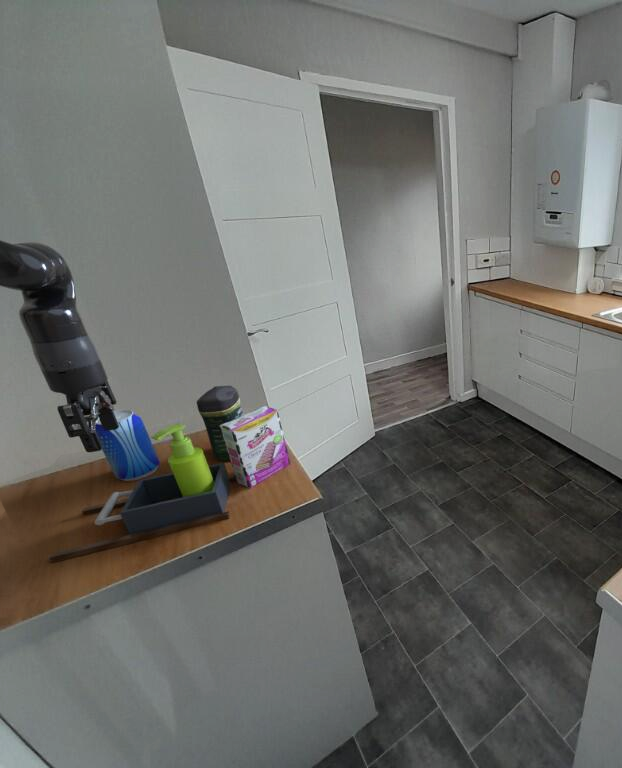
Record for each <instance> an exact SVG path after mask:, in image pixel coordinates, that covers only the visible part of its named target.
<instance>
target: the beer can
mask: <svg viewBox="0 0 622 768" xmlns="http://www.w3.org/2000/svg"><path fill="white" fill-rule="evenodd" d="M113 412H114V414H115V417H116V419H117V422H118V424H119V427H118V429H116V430H109V431H105V430H104V429H103V427H102V424H101V422H100V420H99V417H98V420H97V421H95V429H96V432H97V434H98V436H99V439H100V441H101V443H102V445H103V448H102V449H101V451H102V452H103V454H104V456H105V458H106V460H107V462H108V465H109V466H110V468H111V470H112V472H113V474H114V476H115V478H116V479H118V480H121V481H123V482H134V481H139V480H140V479H146V478H148V477H150V476H151V475H153V474H154V473H155V472H156V471H158V468H159V467H160V464H161V460H160V458H159V456H158V453H157V452H156V449H155V447H154V444H153V442H152V440H151V437H150V435H149V433H148V431H147V428H146V426H145V423H144V421H143V419H142V418H141V417H140V416H138V415H137V414H135V413H134V412H133V411H132V410H130V409H120V410H114V411H113Z"/></svg>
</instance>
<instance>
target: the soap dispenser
mask: <svg viewBox="0 0 622 768" xmlns="http://www.w3.org/2000/svg"><path fill="white" fill-rule="evenodd" d="M186 427H187V426H186V425H185V424H182V423H176V424H174V425H170V426H168V427H165V428H163V429H161V430H159V431H158V432H156V433H155V434H153V435H151V437H150V439H152V440H156V441H161V440H162V439H164V438H166V437H167V436H169V435H171V436H172V440H171V441H170V442H169V446H170V448H171V451H172V454H171V455H170V456H168V458H167V462H168V465H169V467H170V470H171V473H173V474H174V477H175V479H176V481H177V484H178V486H179V488H180V491H181V493H182V496H181V497H182V498H183V497H187V496H192V495H197V494H201V493H206V492H210V491H212V490H213V486H214V480H213V477H212V474H211V472H210V469H209V466H210V465H209V463H208V461H207V458H206V456H205V453H204V450H203V449H202V448H201V447H197V446H194V445H193V443H192V440H191V438H190V436H184V433H183V431H182V430H184V429H185V428H186Z"/></svg>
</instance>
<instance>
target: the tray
mask: <svg viewBox="0 0 622 768" xmlns="http://www.w3.org/2000/svg"><path fill="white" fill-rule="evenodd" d="M208 466H209V469H210V472H211V474H212V477H213V480H214V486H213V490H212V491H210V492H206V493H201V494H197V495H192V496H187V497H183V496H182V493H181V491H180V488H179V486H178V484H177V481H176V479H175V477H174V474H173V472H170V473H166V474H161V475H157V476H151V477H145V478H142V479H139V480H137V483H136V484H135V487H134V488H133V489H129V490H126V491H115V492H114V491H113V492H112V494H111V495H110V496H109V498H108V500H107V501H106V503H104V504H105V506H104V507H103V509H102V511H101V512H99V514H98V515H97V517H96V518H95V520H94V525H96V526H102V525H104V523H109V522H113V521H118V520H122V521H123V523H124V525H125V528H126V529H127V532H128V535H131V534H135V533H139V532H144V531H148V530H152V529H156V528H160V527H165V526H169V525H173V524H177V523H181V522H185V521H190V520H194V519H198V518H202V517H206V516H211V515H215V514H219V513H223V512H225V510H226V506H227V502H228V498H229V494H230V490H231V487H232V486H231V485H232V483H231V482H230V479H229V477H230V475H229V472H228V469H227V466H226V464H225V462H220V463H217V464H212V465H208ZM126 496H129V497H128V498H127V499H128V500H127V502H126V504H125V506H124V507H122V509H121V511H120V512H119V514H116V515H111V516H109V515H110V514H111V512H112V511H113V510H114V509H113V507H114V506H115V504H116V502H117V501H119V499H120V498H121V497H122V498H123V497H126Z"/></svg>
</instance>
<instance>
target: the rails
mask: <svg viewBox="0 0 622 768" xmlns="http://www.w3.org/2000/svg"><path fill="white" fill-rule="evenodd" d="M229 479H230V482H231V484H232V483H236V482H237V479H236V476H235V475H233V476H229ZM128 499H129V498H125V499H121V500H118V501H117V502H116V504H115V506H114V507H113V509H112V510H116V509H120V508H123V507H124V506H125V504H126V502H127V500H128ZM105 504H106V503H102V504H97V505H92V506H86V507H83V509H82V510H81V513H82V515H83V517H84V516H89V515H93V514H98V513H100V512H101V511H102V509H103V507H104V506H105ZM230 518H231V513H230V511H229V510H228V511H224V512H223V513H219V514H215V515H211V516H206V517H202V518H198V519H194V520H190V521H185V522H181V523H177V524H173V525H169V526H165V527H160V528H156V529H152V530H148V531H144V532H139V533H135V534H131V535H130V534H128V535H123V536H119V537H118V536H117V537H115V538H111V539H106V540H102V541H98V542H93V543H88V544H86V545H82V546H78V547H77V546H76V547H73V548H69V549H65V550H60V551H56V552H52V553H51V554H50V555H49V557H48V559H49V561H50V562H51V563H56V562H60V561H63V560H67V559H68V560H69V559H72V558H76V557H80V556H84V555H88V554H92V553H93V554H94V553H97V552H101V551H104V550H108V549H112V548H117V547H121V546H124V545H130V544H133V543H138V542H141V541H146V540H150V539H153V538H154V539H155V538H157V537H161V536H165V535H170V534H174V533H178V532H181V531H186V530H190V529H194V528H198V527H203V526H206V525H210V524H214V523H219V522H222V521H225V520H226V521H227V520H229V519H230Z"/></svg>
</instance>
